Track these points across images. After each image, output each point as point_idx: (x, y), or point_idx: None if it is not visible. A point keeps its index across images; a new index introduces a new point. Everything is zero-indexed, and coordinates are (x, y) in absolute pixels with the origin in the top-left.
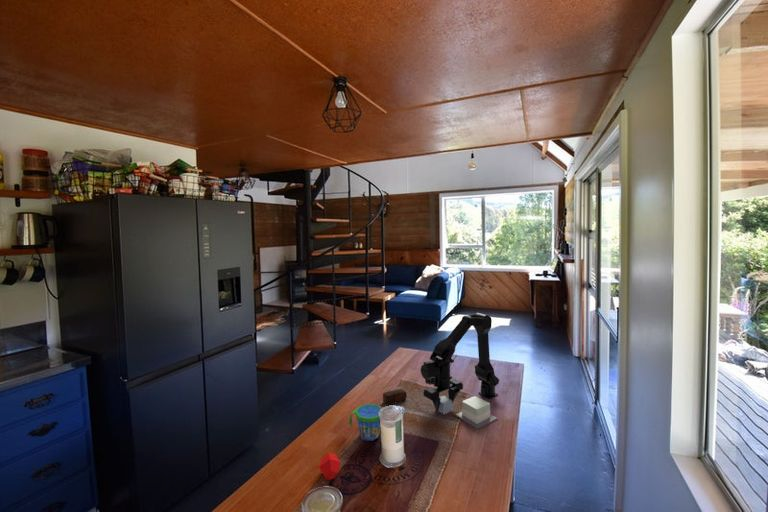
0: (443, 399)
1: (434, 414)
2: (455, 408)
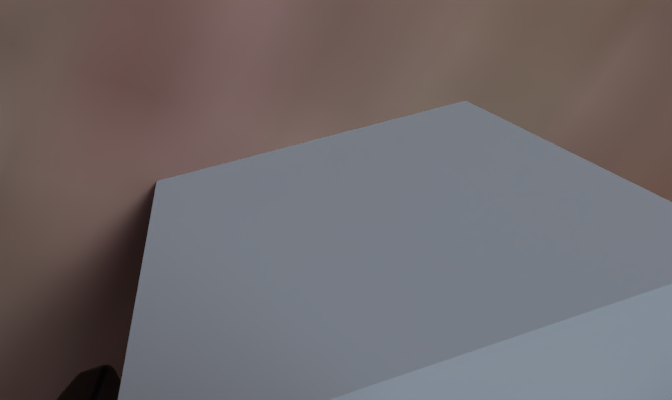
0: None
1: (25, 372)
2: None
